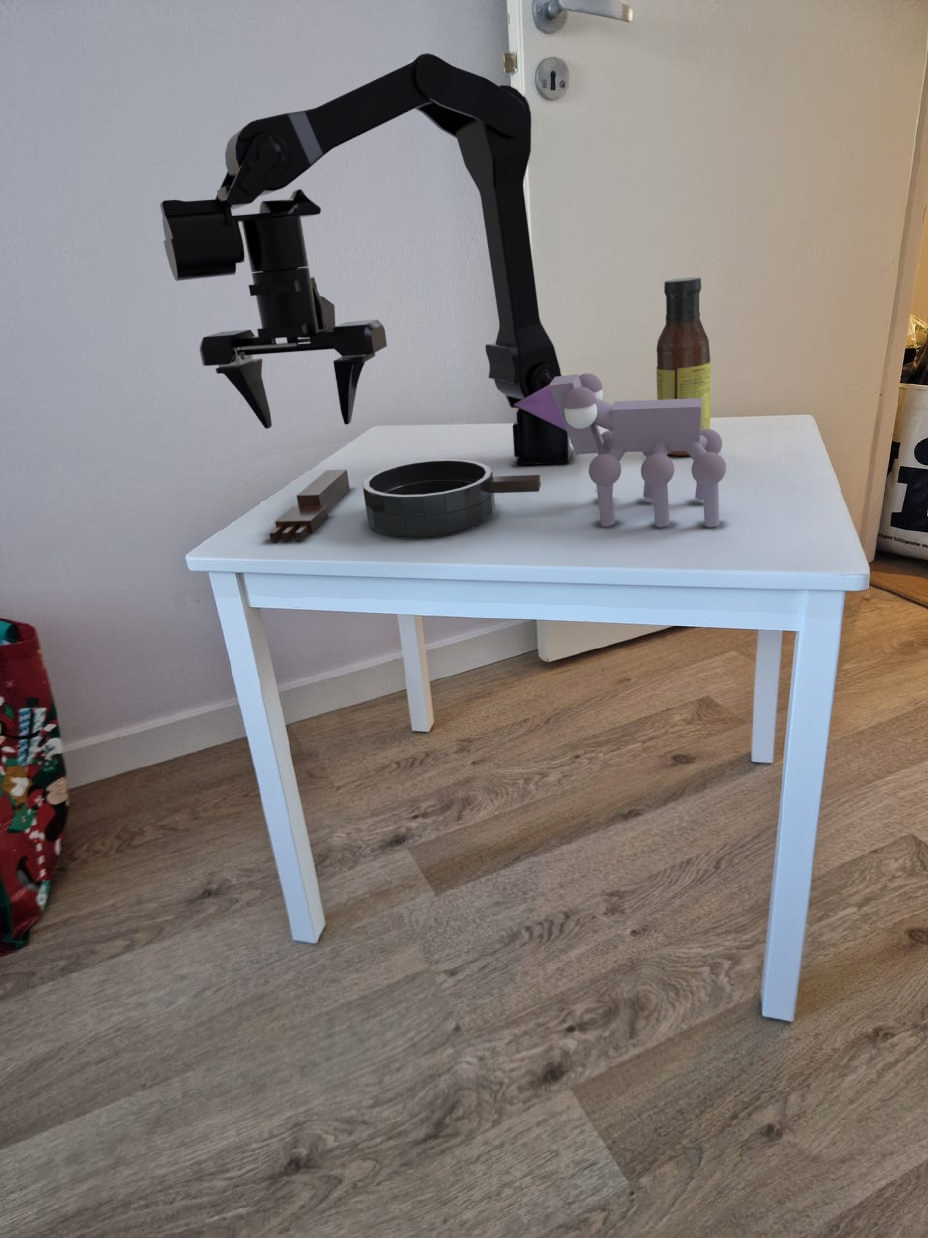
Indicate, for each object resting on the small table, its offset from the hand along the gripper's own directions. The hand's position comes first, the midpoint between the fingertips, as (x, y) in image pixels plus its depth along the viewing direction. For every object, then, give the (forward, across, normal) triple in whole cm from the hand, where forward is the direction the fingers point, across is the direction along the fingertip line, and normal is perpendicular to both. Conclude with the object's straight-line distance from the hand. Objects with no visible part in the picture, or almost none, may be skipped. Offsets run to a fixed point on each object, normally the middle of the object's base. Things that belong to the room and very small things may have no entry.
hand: (307, 425), depth 85 cm
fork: (+9, 0, +2) cm, 10 cm away
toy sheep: (+10, -33, +5) cm, 35 cm away
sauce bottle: (+10, -41, -18) cm, 46 cm away
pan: (+9, -14, +4) cm, 17 cm away
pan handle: (+7, -23, +4) cm, 24 cm away
